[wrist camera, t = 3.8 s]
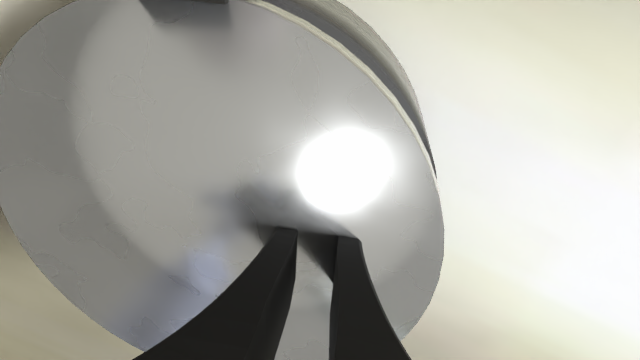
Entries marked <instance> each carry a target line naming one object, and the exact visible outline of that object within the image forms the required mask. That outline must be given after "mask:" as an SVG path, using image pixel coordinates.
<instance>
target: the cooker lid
mask: <svg viewBox="0 0 640 360" xmlns="http://www.w3.org/2000/svg"><path fill="white" fill-rule="evenodd" d="M0 206H1V208H2V210H3V213H4V215H5V217H6V219H7V221H8V223H9V225H10V227H11V229H12V230H13V232H14V234H15V235H16V237H17V239H18V240H19V242H20V243H21V245H22V247H23V248H24V250H25V251H26V252H27V254H28V255H29V256H30V258H31V259H32V260H33V262H34V263H35V264H36V266H37V267H38V268H39V269H40V270H41V272H42V273H43V274H44V275H45V276H46V277H47V278H48V280H49V281H50V282H51V283H52V284H53V285H54V286H55V287H56V288H57V289H58V290H59V291H60V292H61V293H62V294H63V295H64V296H65V297H66V298H67V299H68V300H69V301H70V302H71V303H73V304H74V305H75V306H76V307H77V308H79V309H80V310H81V311H82V312H84V313H85V314H86V315H87V316H88V317H90V318H91V319H92V320H94V321H95V322H96V323H98V324H99V325H101V326H102V327H104V328H105V329H106V330H108V331H109V332H111V333H112V334H114V335H116V336H117V337H119V338H121V339H122V340H124V341H126V342H127V343H129V344H131V345H132V346H134V347H136V348H138V349H140V350H142V351H144V352H146V351H147V350H149V349H150V348H152V347H153V346H155V345H156V344H158V343H159V342H161V341H162V340H164V339H165V338H167V337H168V336H170V335H171V334H173V333H174V332H176V331H177V330H178V329H180V328H181V327H182V326H184V325H185V324H186V323H187V322H189V321H190V320H191V319H193V318H194V317H195V316H196V315H198V314H199V313H200V312H201V311H202V310H204V309H205V308H206V307H207V306H208V305H209V304H211V303H212V302H213V301H214V300H215V299H216V298H217V297H218V296H219V295H220V294H221V293H223V292H224V291H225V290H226V289H227V288H228V287H229V286H230V284H231V283H232V282H233V281H234V280H235V279H236V278H237V277H238V276H239V275H240V274H241V273H242V272H243V271H244V270H245V269H246V267H247V266H248V265H249V264H250V263H251V262H252V260H253V259H254V258H255V257H256V256H257V255H258V253H259V252H260V251H261V249H262V248H263V247H264V246H265V244H266V243H267V242H268V240H269V239H270V237H271V236H272V234H273V233H274V231H275V230H277V229H278V228H282V229H290V230H298V239H297V259H296V279H295V284H294V290H293V295H292V300H291V305H290V310H289V313H288V316H287V320H286V323H285V326H284V329H283V333H282V336H281V339H280V342H279V346H278V349H277V352H276V355H275V359H274V360H329V325H330V307H331V298H332V290H333V281H334V272H335V264H336V255H337V247H338V239H339V236H343V237H350V238H357V239H359V240H360V241H361V242H362V248H363V253H364V258H365V261H366V265H367V268H368V271H369V274H370V277H371V280H372V283H373V285H374V288H375V291H376V293H377V296H378V298H379V300H380V303H381V305H382V307H383V309H384V311H385V313H386V316H387V318H388V320H389V322H390V324H391V326H392V327H393V329H394V331H395V333H396V335H397V337H398V338H399V340H400V341H401V340H402V339H403V338H404V337H405V336H406V335H407V334H408V333H409V332H410V330H411V329H412V328H413V327H414V326H415V325H416V324H417V322H418V321H419V319H420V318H421V316H422V315H423V313H424V311H425V310H426V308H427V306H428V305H429V303H430V301H431V298H432V296H433V293H434V291H435V288H436V286H437V283H438V281H439V276H440V271H441V266H442V261H443V256H444V224H443V215H442V207H441V201H440V194H439V187H438V182H437V179H436V176H435V173H434V170H433V166H432V163H431V160H430V157H429V154H428V152H427V150H426V148H425V146H424V144H423V142H422V140H421V138H420V136H419V134H418V132H417V130H416V127H415V125H414V124H413V122H412V121H411V120H410V118H409V117H408V115H407V114H406V112H405V111H404V109H403V108H402V106H401V105H400V103H399V102H398V100H397V99H396V97H395V96H394V95H393V94H392V93H391V91H390V90H389V89H388V88H387V87H386V86H385V85H384V84H383V83H382V81H381V80H380V79H379V78H378V77H377V76H376V75H375V74H374V72H373V71H372V70H371V69H370V68H369V67H368V66H367V65H365V64H364V63H363V62H362V61H361V60H360V59H358V58H357V57H356V56H355V55H354V54H353V53H351V52H350V51H349V50H348V49H347V48H346V47H344V46H343V45H342V44H341V43H340V42H338V41H337V40H335V39H333V38H332V37H330V36H329V35H327V34H326V33H324V32H323V31H321V30H320V29H318V28H317V27H315V26H314V25H312V24H310V23H309V22H307V21H306V20H304V19H302V18H300V17H297V16H295V15H293V14H291V13H289V12H287V11H285V10H283V9H281V8H279V7H277V6H275V5H272V4H270V3H268V2H264V1H261V0H77V1H74V2H71V3H70V4H68V5H66V6H64V7H62V8H60V9H58V10H57V11H55V12H53V13H51V14H49V15H47V16H46V17H44V18H43V19H42V20H40V21H39V22H38V23H37V24H36V25H34V26H33V27H32V28H31V29H30V30H28V31H27V32H26V33H25V34H24V35H22V37H21V38H20V39H19V40H18V42H17V43H16V44H15V46H14V47H13V48H12V49H11V51H10V52H9V53H8V54H7V56H6V57H5V59H4V61H3V63H2V65H1V67H0Z"/></svg>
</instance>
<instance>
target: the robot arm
mask: <svg viewBox="0 0 640 360" xmlns="http://www.w3.org/2000/svg"><path fill="white" fill-rule="evenodd" d="M297 239H298V230H290V229H282V228H278V229H277V230H275V231H274V233H273V234H272V236H271V237H270V239H269V240H268V242H267V243H266V244H265V246H264V247H263V248H262V249H261V251H260V252H259V253H258V255H257V256H256V257H255V258H254V259H253V260H252V262H251V263H250V264H249V265H248V266H247V267H246V269H245V270H244V271H243V272H242V273H241V274H240V275H239V276H238V277H237V278H236V279H235V280H234V281H233V282H232V283H231V284H230V286H229V287H228V288H227V289H226V290H225V291H224V292H223V293H221V294H220V295H219V296H218V297H217V298H216V299H215V300H214V301H213V302H212V303H211V304H209V305H208V306H207V307H206V308H205V309H204V310H202V311H201V312H200V313H199V314H198V315H196V316H195V317H194V318H193V319H191V320H190V321H189V322H187V323H186V324H185V325H184V326H182V327H181V328H180V329H178V330H177V331H176V332H174V333H173V334H171V335H170V336H168V337H167V338H165V339H164V340H162V341H161V342H159V343H158V344H156V345H155V346H153V347H152V348H150V349H149V350H147V351H146V352H144V353H143V354H141V355H139V356H138V357H136V358H134V359H133V360H274V359H275V355H276V352H277V349H278V346H279V342H280V339H281V336H282V333H283V329H284V326H285V323H286V320H287V316H288V313H289V310H290V305H291V300H292V295H293V290H294V284H295V279H296V259H297ZM329 360H411V358H410V357H409V355H408V354H407V352H406V350H405V349H404V347H403V345H402V344H401V342H400V340H399V338H398V337H397V335H396V333H395V331H394V329H393V327H392V326H391V324H390V322H389V320H388V318H387V316H386V313H385V311H384V309H383V307H382V305H381V303H380V300H379V298H378V296H377V293H376V291H375V288H374V285H373V283H372V280H371V277H370V274H369V271H368V268H367V265H366V261H365V258H364V253H363V248H362V242H361V241H360V240H359V239H357V238H350V237H343V236H339V239H338V247H337V255H336V264H335V272H334V281H333V290H332V298H331V307H330V325H329Z"/></svg>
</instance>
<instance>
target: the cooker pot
mask: <svg viewBox="0 0 640 360" xmlns="http://www.w3.org/2000/svg"><path fill="white" fill-rule="evenodd" d="M261 1H264V2H268V3H270V4H272V5H275V6H277V7H279V8H281V9H283V10H285V11H287V12H289V13H291V14H293V15H295V16H297V17H300V18H302V19H304V20H306V21H307V22H309V23H310V24H312V25H314V26H315V27H317V28H318V29H320V30H321V31H323V32H324V33H326V34H327V35H329V36H330V37H332V38H333V39H335V40H337V41H338V42H340V43H341V44H342V45H343V46H344V47H346V48H347V49H348V50H349V51H350V52H351V53H353V54H354V55H355V56H356V57H357V58H358V59H360V60H361V61H362V62H363V63H364V64H365V65H367V66H368V67H369V68H370V69H371V70H372V71H373V72H374V74H375V75H376V76H377V77H378V78H379V79H380V80H381V81H382V83H383V84H384V85H385V86H386V87H387V88H388V89H389V90H390V91H391V93H392V94H393V95H394V96H395V97H396V99H397V100H398V102H399V103H400V105H401V106H402V108H403V109H404V111H405V112H406V114H407V115H408V117H409V118H410V120H411V121H412V122H413V124H414V125H415V127H416V130H417V132H418V134H419V136H420V138H421V140H422V142H423V144H424V146H425V148H426V150H427V152H428V154H429V157H430V160H431V163H432V166H433V170H434V173H435V176H436V170H435V165H434V161H433V157H432V153H431V149H430V145H429V141H428V137H427V133H426V129H425V125H424V121H423V117H422V114H421V111H420V107H419V104H418V101H417V98H416V94H415V92H414V90H413V88H412V85H411V83H410V81H409V79H408V77H407V75H406V73H405V71H404V69H403V68H402V66H401V65H400V63H399V62H398V60H397V58H396V57H395V55H394V54H393V52H392V51H391V49H390V48H389V47H388V46H387V45H386V43H385V42H384V41H383V40H382V39H381V38H380V37H379V36H378V34H377V33H376V32H375V31H374V30H373V29H372V28H371V27H370V26H369V25H368V24H367V23H366V22H364V21H363V20H362V19H361V18H360V17H359V16H357V15H356V14H355V13H354V12H353V11H352V10H350V9H349V8H347V7H346V6H344V5H343V4H341V3H340V2H338V1H337V0H261ZM436 179H437V177H436Z"/></svg>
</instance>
